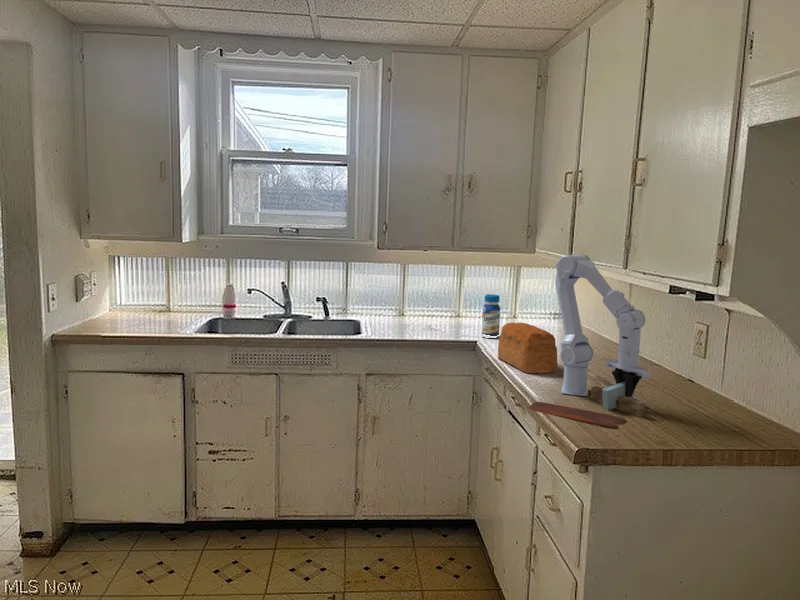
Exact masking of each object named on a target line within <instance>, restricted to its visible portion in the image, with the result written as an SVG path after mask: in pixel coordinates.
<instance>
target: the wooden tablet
mask: <svg viewBox="0 0 800 600" xmlns="http://www.w3.org/2000/svg"><path fill="white" fill-rule="evenodd" d="M528 409H529V410H531V411H534V412H537V413H543V414H546V415H551V416H555V417H561V418H564V417H565V419H569V418H570V420H573V419H574V421H577V420H578V422H581V421H582V423H586V422H587V423H586V424H590V423H591V424H590V425H594V424H596V425H595V426H598V425H600V426H599V427H602V426H604V428H607V427H608V428H607V429H612V428H614V430H615V429H618V427H619V426H620V425H623V424H625V423H626V422H627V420H626V419H625V418H623V417H620V416H615V415H611V414H606V413H603V412H602V413H601V412H597V411H592V410H588V409H587V410H586V409H582V408H581V409H580V408H576V407H571V406H566V405H559V404H555V403H549V402H543V401H534V402H533V403H531V404H530V405H529V406H528Z"/></svg>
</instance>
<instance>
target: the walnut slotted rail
mask: <svg viewBox="0 0 800 600" xmlns="http://www.w3.org/2000/svg"><path fill="white" fill-rule="evenodd" d="M602 389H604V388H603V387H600V386H597V385H595V386H591V392H590V400H592V401H594V402H597V403H600V404H602V405H603V398H602ZM645 404H646V403H645V401H641V400H638V399H635V398H633V397H632V398H630V397H627V396H619V399H618V400H616V408H614V409H615V410H619V411H621V412H624V413H626V414H629V415H632V416H635V417H637V418H641V417H642V418H643V417H644V416H645V406H646V405H645Z"/></svg>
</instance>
